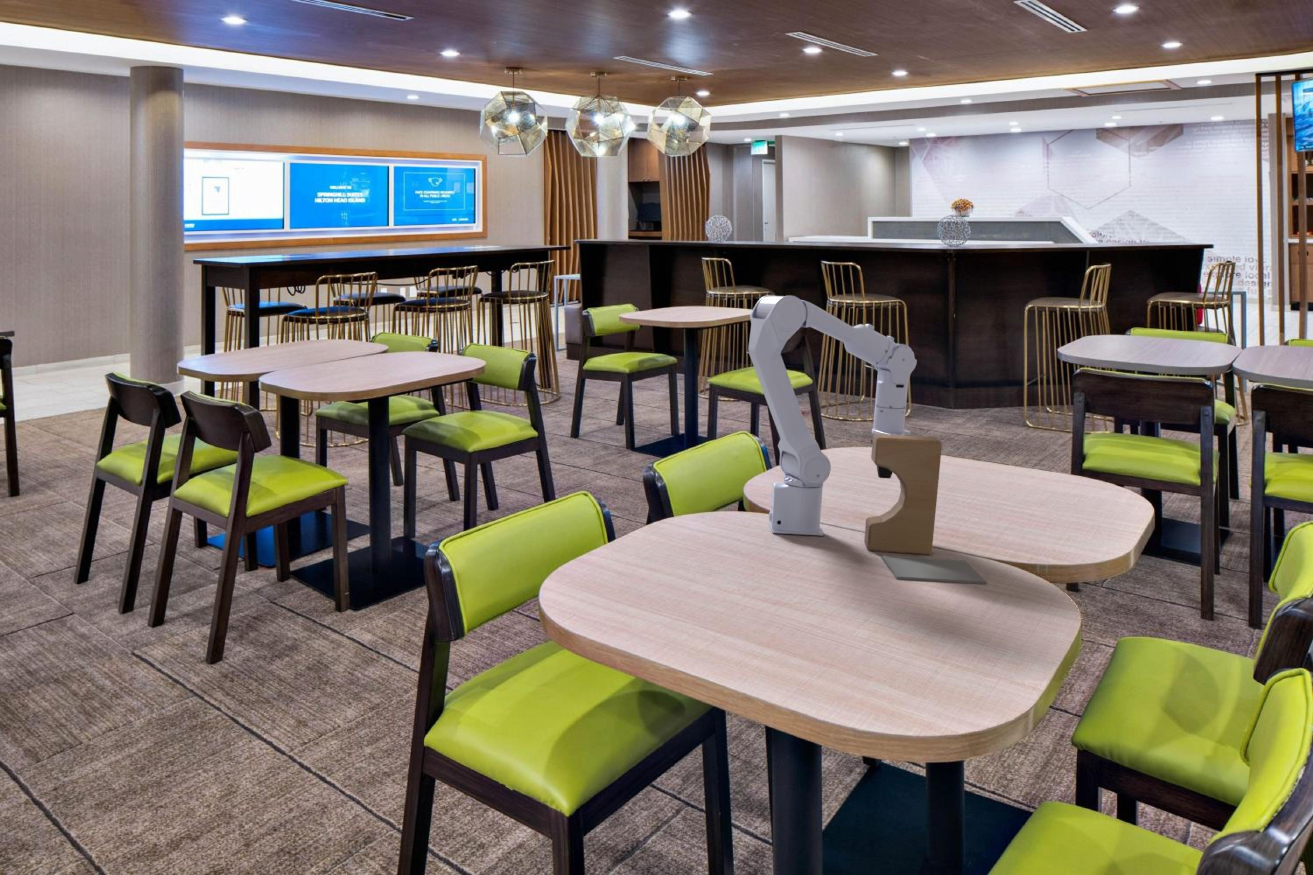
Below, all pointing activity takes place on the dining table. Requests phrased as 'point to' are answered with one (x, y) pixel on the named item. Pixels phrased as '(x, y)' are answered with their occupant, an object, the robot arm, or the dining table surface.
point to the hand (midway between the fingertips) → (884, 477)
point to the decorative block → (906, 494)
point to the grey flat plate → (933, 570)
